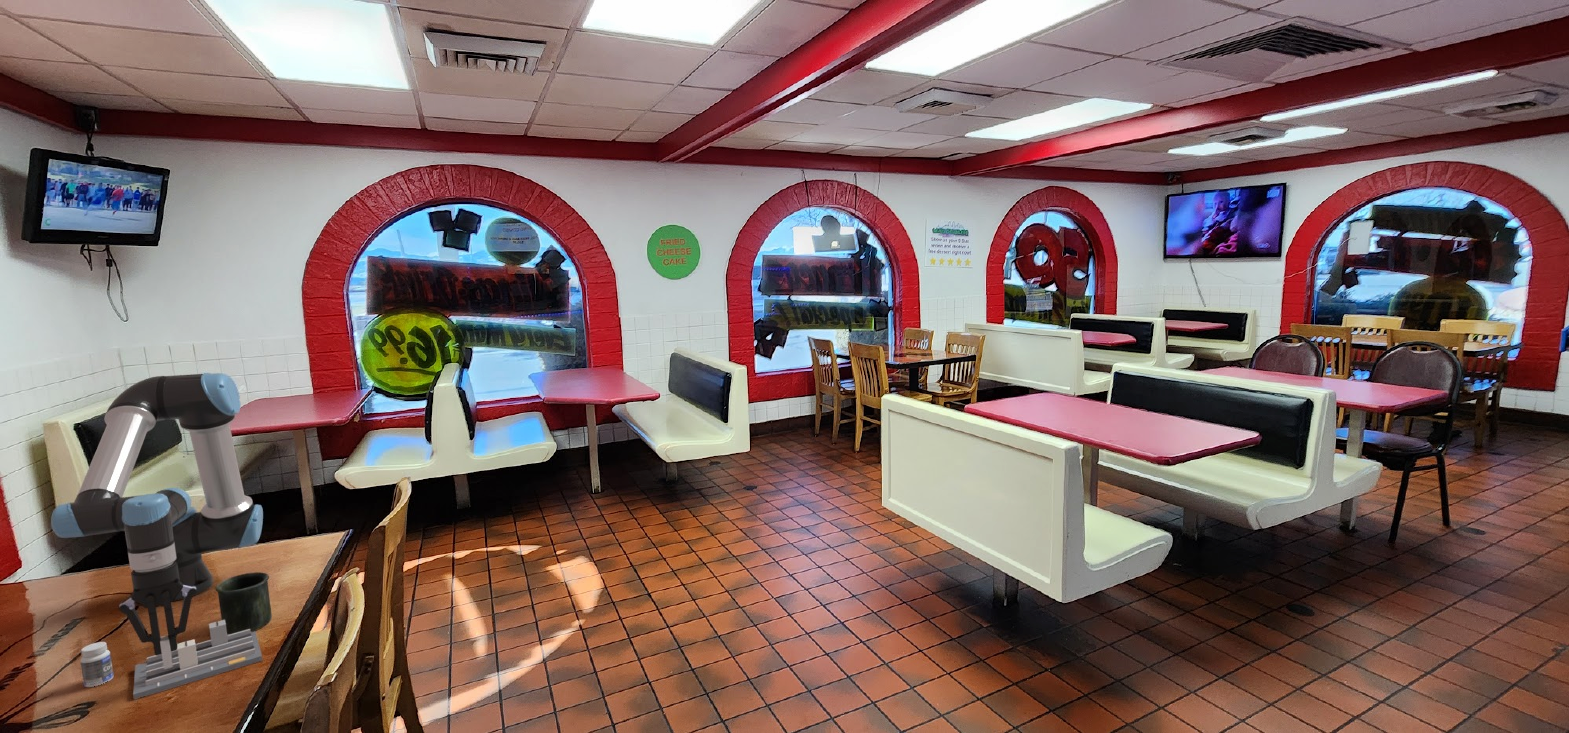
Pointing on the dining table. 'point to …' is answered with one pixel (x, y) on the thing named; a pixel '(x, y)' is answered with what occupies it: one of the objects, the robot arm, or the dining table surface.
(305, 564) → the dining table surface
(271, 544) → the dining table surface
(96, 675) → the pill bottle
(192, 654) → the fader cap
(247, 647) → the console
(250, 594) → the mug
